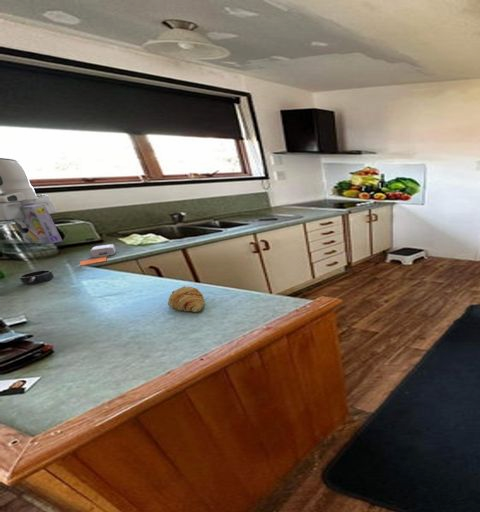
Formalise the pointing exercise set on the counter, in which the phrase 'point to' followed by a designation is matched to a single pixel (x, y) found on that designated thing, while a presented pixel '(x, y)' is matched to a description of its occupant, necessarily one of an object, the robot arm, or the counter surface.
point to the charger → (103, 250)
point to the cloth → (93, 261)
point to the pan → (37, 276)
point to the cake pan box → (38, 225)
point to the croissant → (186, 299)
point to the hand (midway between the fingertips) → (34, 226)
